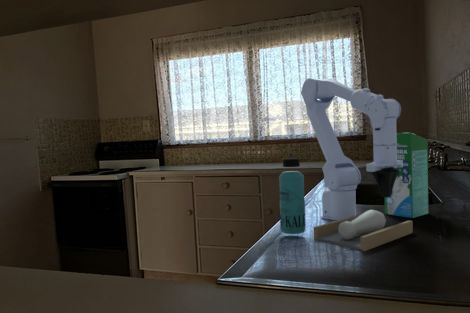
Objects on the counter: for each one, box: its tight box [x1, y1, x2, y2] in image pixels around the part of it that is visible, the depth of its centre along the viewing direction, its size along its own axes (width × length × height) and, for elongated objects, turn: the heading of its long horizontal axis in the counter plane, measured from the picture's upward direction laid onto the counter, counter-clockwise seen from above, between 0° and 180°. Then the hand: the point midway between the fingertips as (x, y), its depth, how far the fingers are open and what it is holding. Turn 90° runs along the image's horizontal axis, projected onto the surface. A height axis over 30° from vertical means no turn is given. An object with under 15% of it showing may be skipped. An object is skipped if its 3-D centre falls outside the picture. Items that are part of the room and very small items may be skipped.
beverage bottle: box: [278, 157, 307, 235], centre depth 95 cm, size 6×7×20 cm
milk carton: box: [384, 132, 429, 219], centre depth 116 cm, size 9×9×25 cm
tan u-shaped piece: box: [313, 213, 414, 252], centre depth 94 cm, size 14×21×3 cm, turn 128°
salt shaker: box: [338, 209, 387, 240], centre depth 92 cm, size 6×6×13 cm
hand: (385, 196), depth 100 cm, fingers closed
